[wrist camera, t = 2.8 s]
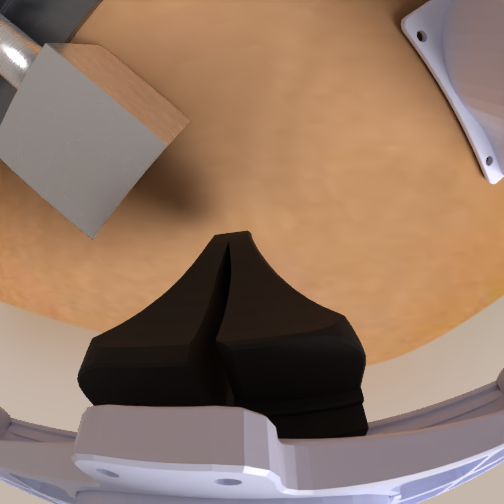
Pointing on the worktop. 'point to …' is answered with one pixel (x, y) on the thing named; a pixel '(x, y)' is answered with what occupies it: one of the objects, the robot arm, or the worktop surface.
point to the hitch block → (43, 27)
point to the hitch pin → (80, 125)
